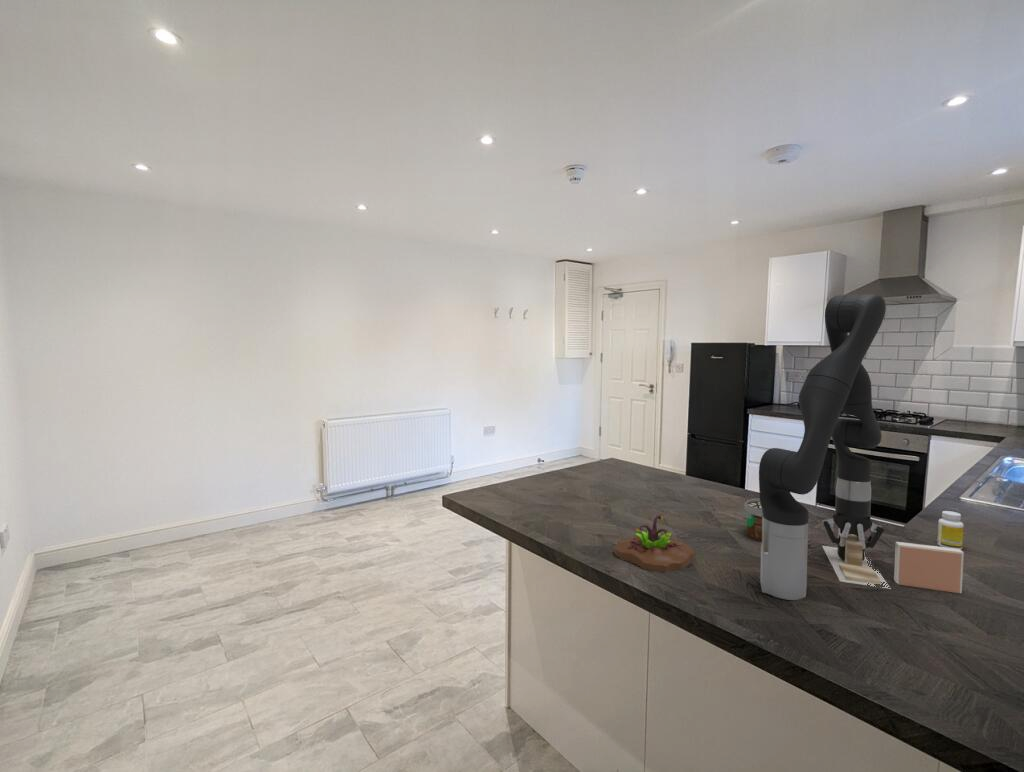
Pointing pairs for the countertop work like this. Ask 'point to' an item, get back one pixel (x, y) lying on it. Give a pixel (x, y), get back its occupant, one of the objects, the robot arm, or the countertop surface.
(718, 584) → the countertop surface
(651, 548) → the toy plant on soil
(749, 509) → the food container
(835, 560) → the mat
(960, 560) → the tile
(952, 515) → the supplement bottle
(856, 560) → the turner
